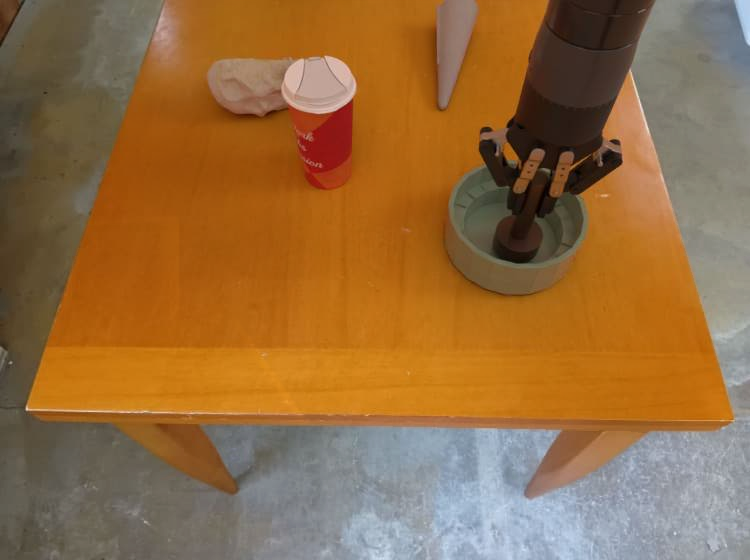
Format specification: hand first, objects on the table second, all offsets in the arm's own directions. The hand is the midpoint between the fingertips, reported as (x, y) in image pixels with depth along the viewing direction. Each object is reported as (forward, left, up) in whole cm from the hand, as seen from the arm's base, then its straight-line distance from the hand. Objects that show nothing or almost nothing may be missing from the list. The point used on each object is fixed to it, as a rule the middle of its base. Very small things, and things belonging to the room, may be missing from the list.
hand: (527, 209), depth 60 cm
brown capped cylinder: (0, 0, -6) cm, 6 cm away
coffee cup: (+24, +10, -8) cm, 27 cm away
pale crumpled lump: (+40, +8, -8) cm, 41 cm away
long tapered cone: (+30, -17, -8) cm, 35 cm away
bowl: (+2, -1, -8) cm, 8 cm away
